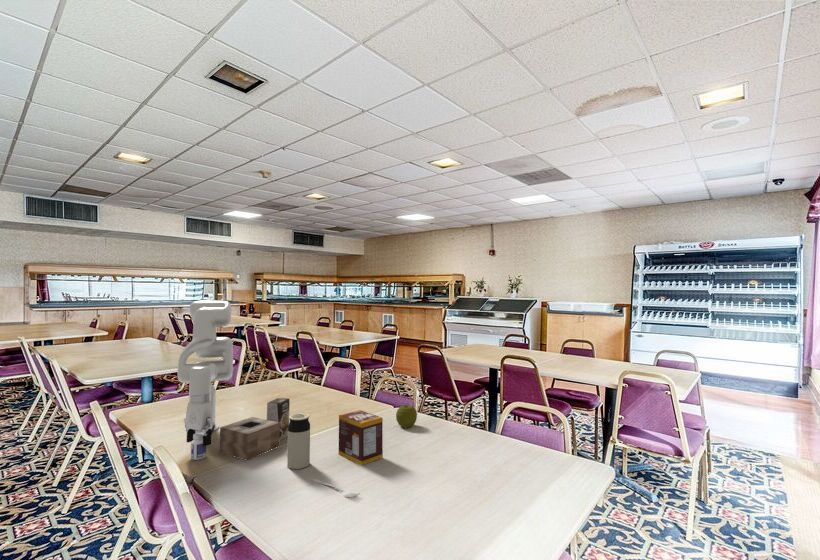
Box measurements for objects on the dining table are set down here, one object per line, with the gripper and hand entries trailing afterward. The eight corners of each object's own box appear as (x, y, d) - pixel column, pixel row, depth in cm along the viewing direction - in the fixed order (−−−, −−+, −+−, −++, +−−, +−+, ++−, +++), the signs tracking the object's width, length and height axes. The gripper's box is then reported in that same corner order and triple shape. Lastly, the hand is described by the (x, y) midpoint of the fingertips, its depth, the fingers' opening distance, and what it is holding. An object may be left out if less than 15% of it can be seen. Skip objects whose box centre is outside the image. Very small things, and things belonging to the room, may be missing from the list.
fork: (312, 476, 142) (313, 471, 143) (361, 498, 127) (361, 492, 127) (305, 479, 140) (305, 474, 140) (353, 502, 125) (353, 496, 125)
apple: (392, 428, 193) (392, 405, 193) (400, 422, 202) (401, 400, 202) (412, 431, 189) (412, 407, 190) (419, 425, 198) (419, 402, 199)
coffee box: (279, 441, 175) (279, 403, 176) (265, 440, 177) (266, 402, 177) (289, 434, 184) (290, 398, 185) (276, 433, 186) (277, 397, 186)
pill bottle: (208, 454, 161) (209, 431, 161) (202, 460, 155) (202, 436, 156) (194, 454, 160) (195, 431, 161) (188, 460, 155) (188, 436, 155)
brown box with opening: (219, 452, 163) (220, 427, 163) (252, 440, 177) (252, 416, 177) (247, 460, 155) (248, 433, 155) (279, 446, 169) (279, 422, 170)
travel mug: (289, 471, 146) (290, 420, 146) (285, 463, 153) (286, 414, 153) (312, 467, 149) (312, 417, 150) (306, 459, 156) (307, 411, 157)
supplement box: (358, 447, 169) (359, 409, 170) (383, 458, 158) (383, 417, 159) (337, 454, 162) (338, 414, 162) (361, 465, 151) (362, 423, 151)
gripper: (176, 398, 159) (175, 442, 158) (205, 402, 151) (204, 450, 150) (194, 394, 166) (193, 437, 165) (223, 398, 158) (222, 443, 157)
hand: (198, 443), depth 158 cm, fingers open, 9 cm apart
